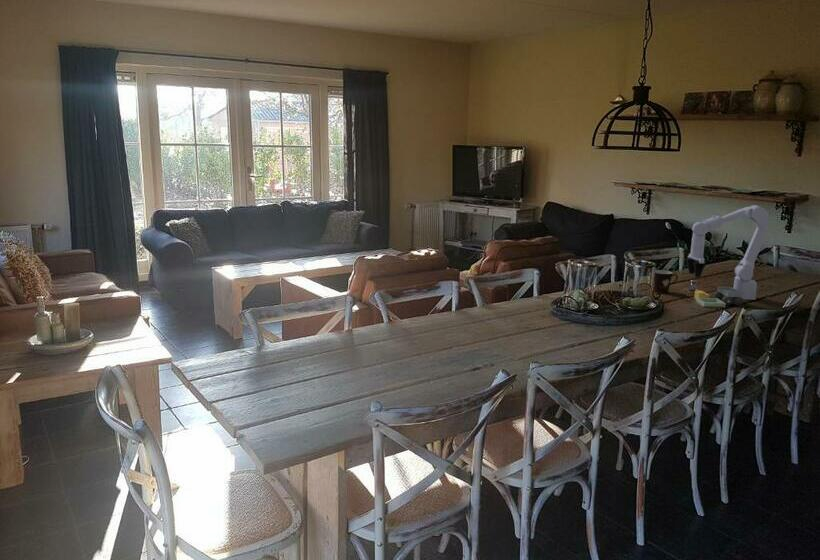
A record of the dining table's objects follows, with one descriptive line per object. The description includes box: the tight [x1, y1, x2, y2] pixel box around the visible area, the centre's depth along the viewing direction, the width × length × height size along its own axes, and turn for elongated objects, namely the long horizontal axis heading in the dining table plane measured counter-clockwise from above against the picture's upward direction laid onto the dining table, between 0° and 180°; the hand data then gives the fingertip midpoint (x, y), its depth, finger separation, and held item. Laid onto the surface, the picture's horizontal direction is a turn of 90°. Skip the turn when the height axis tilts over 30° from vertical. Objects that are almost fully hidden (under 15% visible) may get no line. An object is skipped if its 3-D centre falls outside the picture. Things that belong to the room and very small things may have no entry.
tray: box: [695, 297, 727, 309], centre depth 300 cm, size 10×10×2 cm
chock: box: [693, 290, 711, 300], centre depth 309 cm, size 5×5×4 cm
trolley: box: [713, 286, 744, 307], centre depth 304 cm, size 9×12×6 cm
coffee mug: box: [653, 269, 679, 294], centre depth 323 cm, size 12×9×10 cm
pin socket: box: [682, 288, 701, 297], centre depth 319 cm, size 7×7×2 cm
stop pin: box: [689, 279, 698, 292], centre depth 318 cm, size 3×3×7 cm
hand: (694, 275), depth 317 cm, fingers open, 7 cm apart
